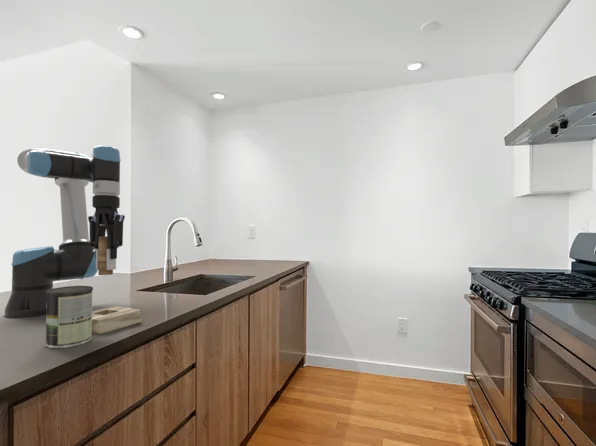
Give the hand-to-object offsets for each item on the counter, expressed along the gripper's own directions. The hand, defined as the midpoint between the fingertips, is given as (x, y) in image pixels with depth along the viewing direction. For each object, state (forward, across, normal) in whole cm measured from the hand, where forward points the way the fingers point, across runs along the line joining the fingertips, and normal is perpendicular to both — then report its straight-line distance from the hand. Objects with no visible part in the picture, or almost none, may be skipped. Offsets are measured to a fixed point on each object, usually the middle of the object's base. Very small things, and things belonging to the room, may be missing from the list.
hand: (105, 269), depth 105 cm
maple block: (+17, +1, 0) cm, 18 cm away
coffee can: (+18, +5, -15) cm, 24 cm away
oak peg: (+2, 0, 0) cm, 2 cm away
